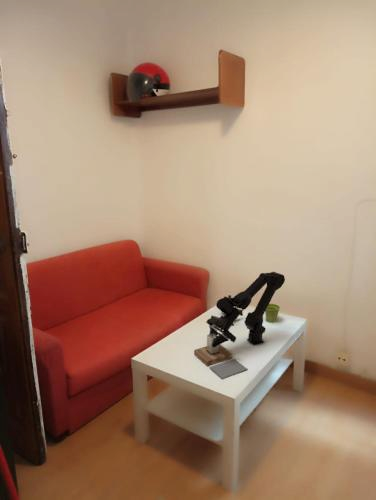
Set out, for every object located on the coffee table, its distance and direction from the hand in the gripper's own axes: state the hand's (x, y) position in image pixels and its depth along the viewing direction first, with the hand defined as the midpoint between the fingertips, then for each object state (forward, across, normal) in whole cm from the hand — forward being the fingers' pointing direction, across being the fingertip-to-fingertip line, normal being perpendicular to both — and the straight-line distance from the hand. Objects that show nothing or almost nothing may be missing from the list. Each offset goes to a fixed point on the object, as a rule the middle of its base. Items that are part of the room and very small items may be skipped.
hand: (210, 344), depth 176 cm
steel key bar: (+4, 0, +6) cm, 7 cm away
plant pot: (-32, -16, +42) cm, 55 cm away
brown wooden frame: (+4, 0, +6) cm, 7 cm away
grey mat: (+4, +13, +6) cm, 15 cm away
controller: (-21, -39, +30) cm, 54 cm away
